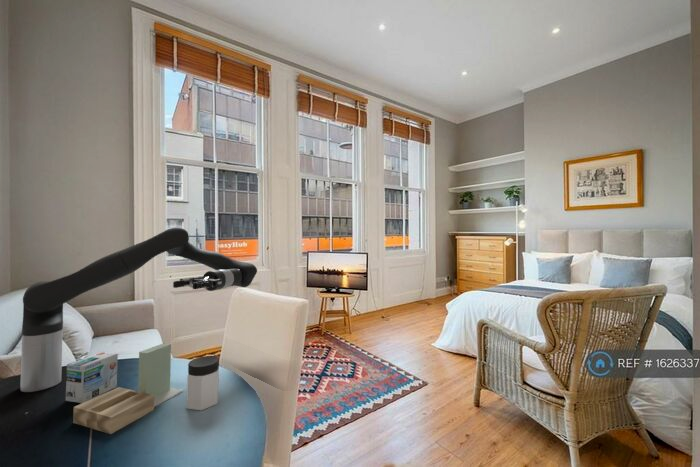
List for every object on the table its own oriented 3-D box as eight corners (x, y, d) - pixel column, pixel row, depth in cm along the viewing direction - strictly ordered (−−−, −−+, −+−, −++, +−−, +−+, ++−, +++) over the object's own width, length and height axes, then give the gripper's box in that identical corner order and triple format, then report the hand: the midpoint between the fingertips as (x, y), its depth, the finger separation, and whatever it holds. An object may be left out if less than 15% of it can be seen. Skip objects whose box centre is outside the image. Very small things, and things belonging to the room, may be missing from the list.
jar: (217, 408, 85) (218, 365, 85) (185, 413, 82) (185, 369, 82) (219, 392, 93) (220, 353, 94) (190, 397, 90) (190, 357, 91)
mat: (122, 400, 88) (122, 399, 88) (154, 385, 98) (154, 384, 98) (152, 408, 84) (152, 407, 84) (182, 391, 94) (182, 390, 94)
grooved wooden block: (73, 422, 78) (73, 407, 78) (118, 400, 88) (119, 387, 88) (111, 434, 73) (111, 417, 73) (154, 409, 84) (154, 395, 84)
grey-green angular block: (138, 400, 88) (139, 351, 88) (162, 387, 96) (163, 343, 96) (145, 401, 87) (146, 353, 88) (170, 389, 95) (170, 344, 95)
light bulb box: (82, 404, 86) (83, 366, 87) (64, 401, 88) (65, 364, 88) (118, 386, 97) (118, 352, 97) (101, 384, 98) (101, 351, 99)
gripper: (204, 269, 119) (167, 273, 104) (234, 270, 115) (200, 275, 99) (204, 288, 119) (167, 295, 104) (233, 290, 114) (200, 298, 99)
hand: (183, 285), depth 101 cm, fingers open, 8 cm apart
